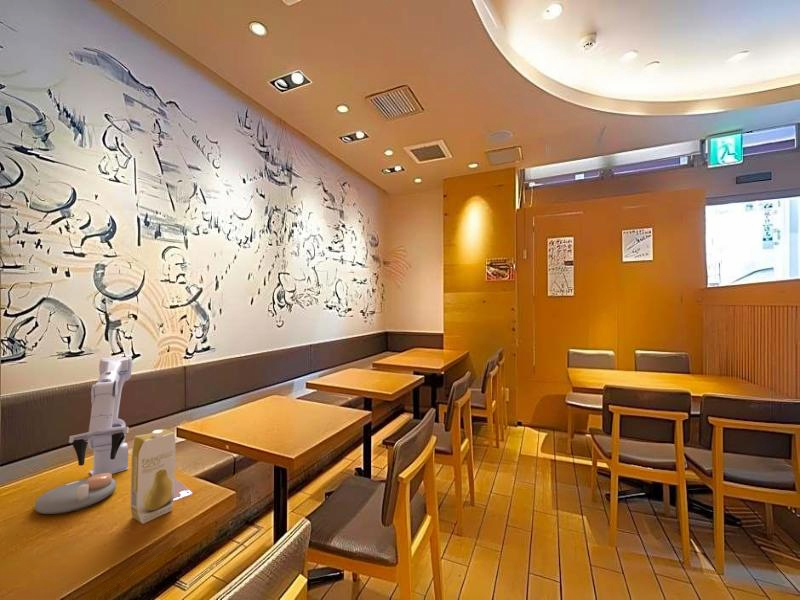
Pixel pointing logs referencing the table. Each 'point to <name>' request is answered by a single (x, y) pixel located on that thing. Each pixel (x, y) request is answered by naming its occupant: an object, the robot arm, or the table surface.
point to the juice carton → (152, 475)
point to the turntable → (71, 497)
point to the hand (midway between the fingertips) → (97, 462)
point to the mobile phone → (180, 491)
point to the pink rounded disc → (99, 481)
